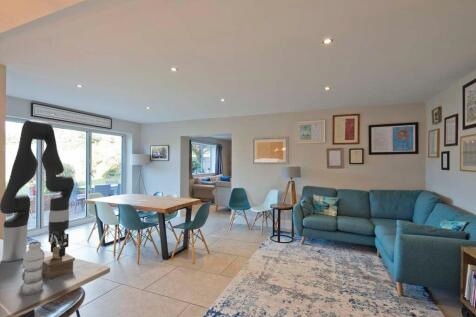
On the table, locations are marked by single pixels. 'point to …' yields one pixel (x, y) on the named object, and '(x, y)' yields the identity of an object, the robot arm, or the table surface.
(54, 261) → the lid
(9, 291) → the table surface
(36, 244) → the plastic bottle
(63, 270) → the box
